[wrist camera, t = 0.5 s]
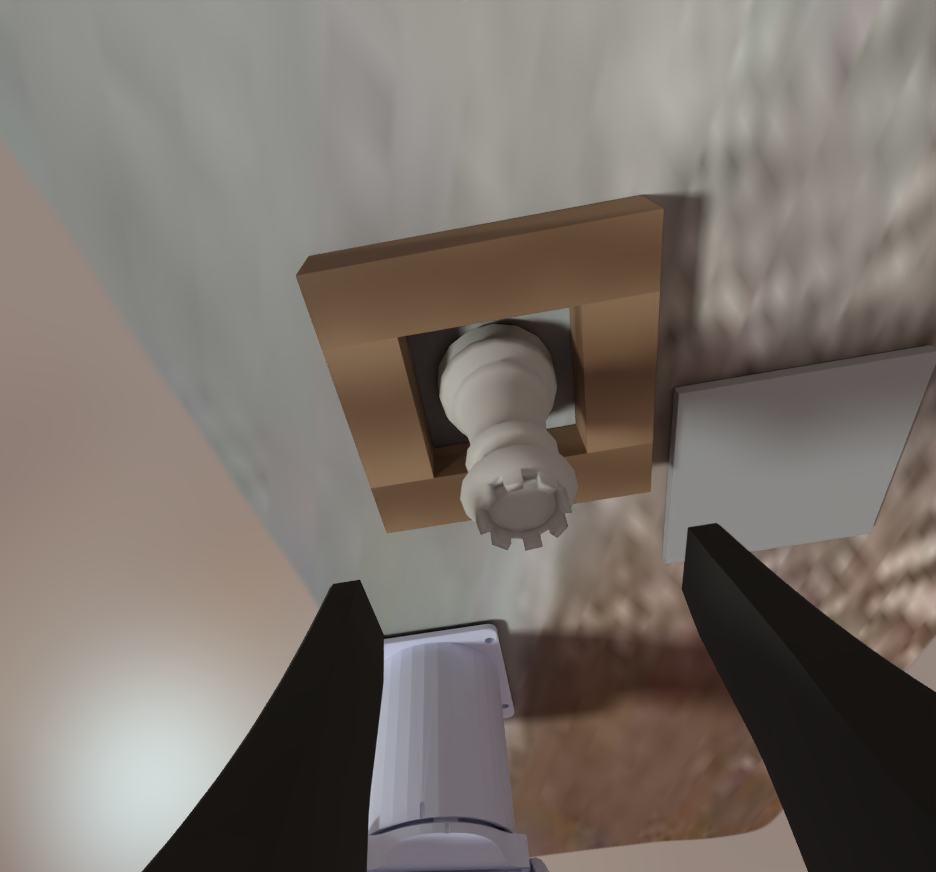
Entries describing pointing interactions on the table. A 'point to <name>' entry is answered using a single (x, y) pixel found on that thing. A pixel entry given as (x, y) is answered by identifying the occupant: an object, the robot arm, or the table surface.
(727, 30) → the table surface
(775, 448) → the slate mat
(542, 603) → the table surface
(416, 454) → the square wooden frame
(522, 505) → the rook chess piece
